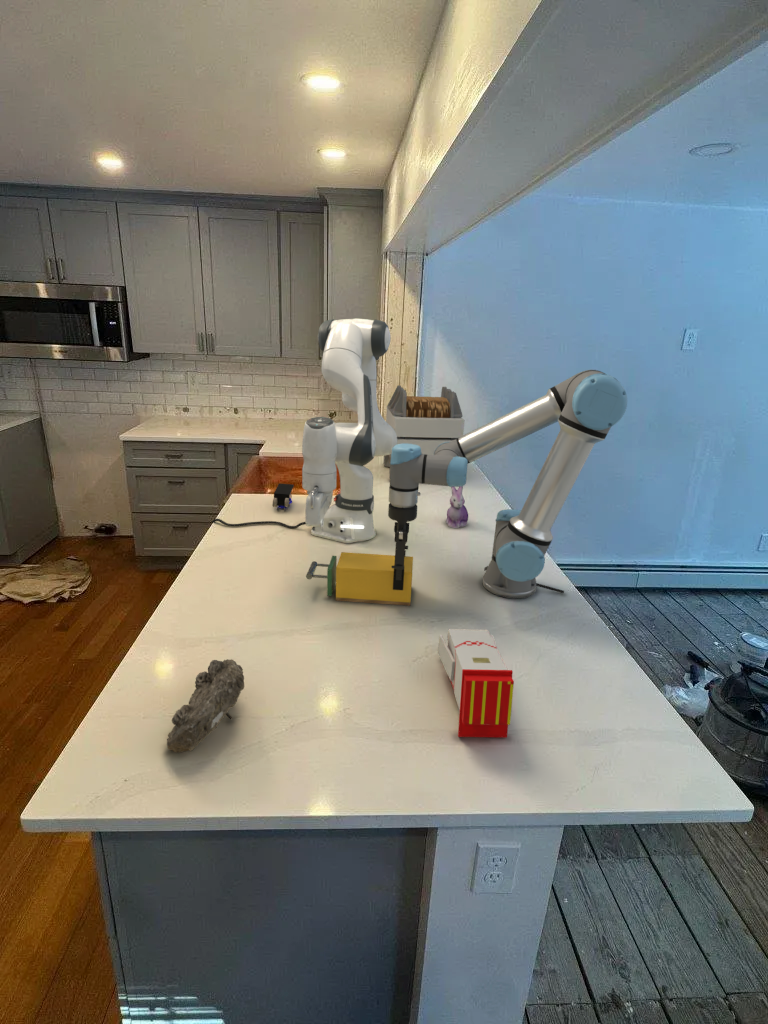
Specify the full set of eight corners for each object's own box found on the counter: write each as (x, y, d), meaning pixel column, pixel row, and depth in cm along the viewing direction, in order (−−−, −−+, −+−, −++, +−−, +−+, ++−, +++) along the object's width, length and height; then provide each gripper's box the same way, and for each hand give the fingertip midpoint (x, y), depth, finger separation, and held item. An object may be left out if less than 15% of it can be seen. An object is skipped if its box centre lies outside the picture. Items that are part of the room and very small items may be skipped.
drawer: (305, 594, 154) (305, 567, 151) (311, 579, 162) (311, 554, 159) (396, 600, 152) (398, 573, 150) (398, 585, 161) (399, 559, 158)
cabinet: (335, 600, 153) (336, 567, 150) (340, 583, 162) (341, 551, 159) (410, 605, 152) (412, 572, 149) (411, 588, 161) (413, 556, 158)
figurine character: (289, 516, 215) (294, 499, 229) (289, 498, 212) (294, 482, 225) (272, 515, 215) (278, 499, 228) (271, 497, 212) (277, 481, 225)
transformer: (382, 463, 289) (386, 382, 275) (445, 464, 293) (451, 384, 279) (390, 482, 257) (394, 392, 243) (460, 483, 261) (468, 394, 247)
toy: (488, 613, 130) (523, 677, 101) (484, 667, 133) (517, 744, 104) (435, 612, 130) (455, 676, 101) (432, 666, 133) (451, 743, 103)
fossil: (192, 660, 117) (244, 628, 112) (224, 691, 120) (276, 661, 115) (142, 746, 98) (202, 712, 93) (182, 779, 101) (242, 748, 96)
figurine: (453, 530, 205) (457, 490, 200) (438, 521, 213) (441, 482, 208) (475, 527, 209) (479, 488, 204) (459, 517, 217) (462, 480, 212)
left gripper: (324, 493, 137) (324, 546, 142) (337, 471, 157) (336, 519, 161) (299, 492, 138) (299, 544, 142) (314, 470, 157) (314, 517, 161)
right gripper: (416, 519, 137) (411, 601, 144) (418, 491, 158) (413, 563, 166) (385, 517, 137) (382, 599, 145) (391, 489, 158) (387, 562, 166)
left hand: (319, 530), depth 152 cm, fingers closed
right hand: (398, 580), depth 155 cm, fingers closed on cabinet, 10 cm apart
